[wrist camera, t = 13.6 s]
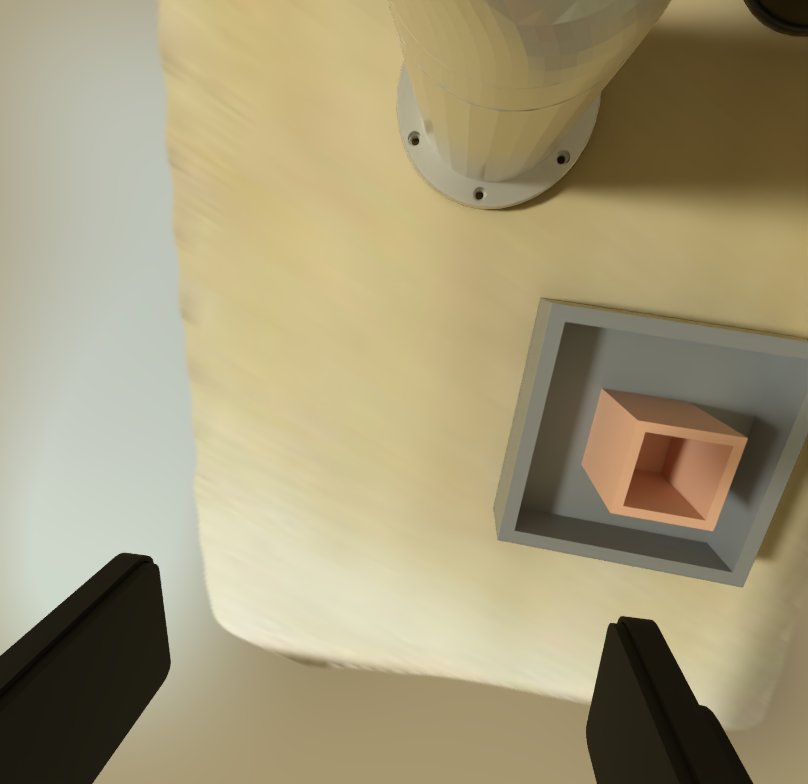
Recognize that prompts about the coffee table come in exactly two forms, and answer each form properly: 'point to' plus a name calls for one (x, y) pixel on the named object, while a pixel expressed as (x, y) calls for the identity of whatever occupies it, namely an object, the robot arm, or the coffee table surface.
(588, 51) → the robot arm
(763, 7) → the french press
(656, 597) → the coffee table surface
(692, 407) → the small crate
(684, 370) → the grey square tray
